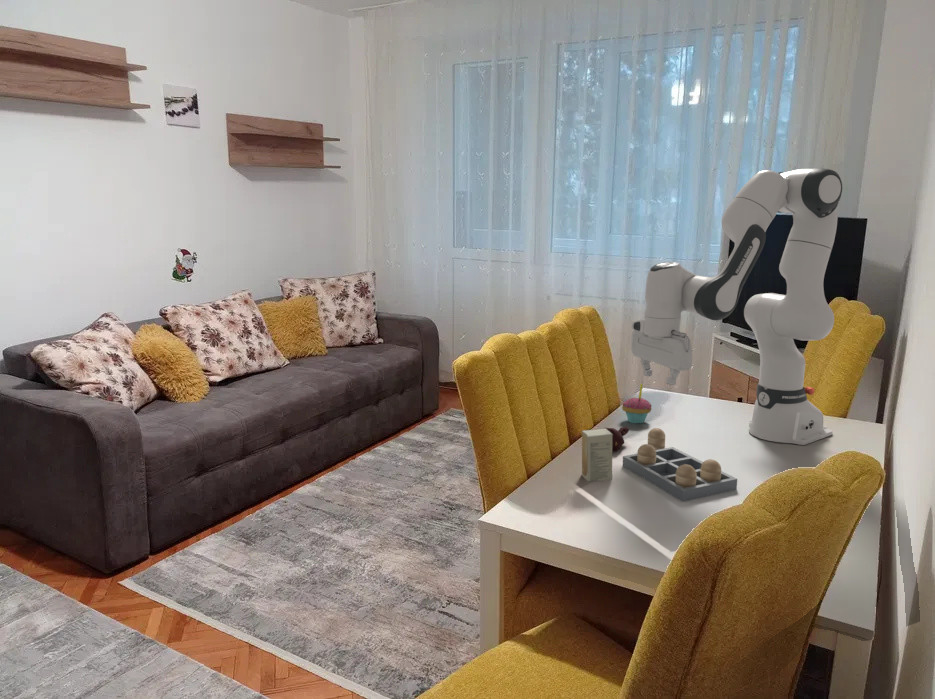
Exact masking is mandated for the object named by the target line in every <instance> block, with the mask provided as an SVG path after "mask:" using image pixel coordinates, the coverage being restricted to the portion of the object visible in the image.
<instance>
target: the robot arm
mask: <svg viewBox="0 0 935 699" xmlns="http://www.w3.org/2000/svg"><path fill="white" fill-rule="evenodd" d="M842 193H843V182H842V179H841V175H840V174H839V173H838V172H837V171H835V170H833V169H829V168H825V167H817V168H799V169H798V168H797V169H794V170H789V171H785V172H784V171H780V172H777V171H774V170H771V169H764V170H760V171H758V172H757V173H755V174H754V175H753V176H752V177H751V178H749V179H748V181H747V182H746V183H745V184H744V185H743V186H742V187H741V188H740V189H739V190H738V191H737V193H736V195H734V197H733V199H731V202H730V203H729V204H728V206H727V207H726V209H725V211H724V213H723V216H722V218H721V226H722V230H723V233H725V235H726V237H728V238H729V240H731V241H732V242H733V243H734V247H733V249H732V251H731V253H730V255H729V257H728V259H726V262H725V264H724V266H723V267H722V270H721V271H720V272H719V273H718V274H716V275H714V276H704V275H700V274H696V273H694V272H692V271H689V270H688V269H686V268H684V267H683V266H682V265H681V263H679V262H675V261H674V262H673V261H668V262H661V263H657V264H654V265H653V266H652V267H650V268H649V271H648V273H647V278H646V283H645V298H644V299H645V303H646V304H645V305H646V308H645V312H644V318H643V319H640V320H635V321H632V322H631V329H632V330H633V331H632V333H631V337H630V338H631V339H630V350H631V353H632V356H634V357H636V358H639V359H640V363H641V366H642V370H643V371H642V372H643V376H646V377H647V378H648V377H652V376H653V369H651V365H650V363H655V364H658V365H660V366H663V367H667V368H669V372H670V374H669V376H667V377H666V384H667V385H669V386H675V385H676V384H677V378H678V376H679V375H680V373H681V372H683V371H689V370H690V369H691V368H692V366H693V353H692V352H693V351H692V343H691V339H690V338H689V336H688V334H687V333H686V332H682V331H681V317H682V312H687V313H690V314H695V315H697V316H701V317H704V318H706V319H708V320H711V321H720V320H723V319H726V318H727V317H729V316H730V315H731V314H732V313H733V311H734V310H735V309H736V307H737V304H738V302H739V299H740V295H741V292H742V290H743V287H744V285H745V283H746V281H747V279H748V277H749V275H750V274H751V272H752V270H753V268H754V266H755V265H756V263H757V261H758V258H759V257H760V256H761V255H760V254H762V251H763V249H764V247H765V244H766V239H767V234H766V232H767V229H768V227H769V226H770V224H771V223H772V221H773V220H774V219H775V217H776V215H777V213H786V214H792V219H793V220H792V221H793V222H792V223H793V224H792V227H791V229H790V231H789V234H788V236H787V240H786V243H785V247H784V250H783V252H782V256H781V258H780V262H779V265H778V266H779V267H778V270H779V273H780V275H781V276H782V277H783V278H784V279H785V283H786V294H782V293H781V294H779V293H775V292H768V293H767V292H765V293H758V294H754V295H753V296H751V297H750V298H749V299H748V300H747V302H746V304H745V306H744V308H743V317H744V320H745V323H747V325H748V326H749V327H750V328H751V330H752V332H753V334H754V336H755V338H756V341H757V346H758V350H759V359H760V363H759V364H760V365H759V379H758V381H759V382H758V383H757V384H756V394H755V395H756V398H755V399H756V400H755V402H754V408H753V413H752V418H751V420H750V421H749V423H748V424H749V428H748V433H749V434H751V435H752V436H754V437H756V438H758V439H762V440H764V441H769V442H775V443H783V444H784V443H785V444H795V445H800V446H804V445H808V444H811V443H813V442H816V441H819V440H821V439H824V438H827V437H829V436H832V435H833V430H832V429H831V428H829V427H828V426H826V425H824V414H823V412H822V411H821V410H820V409H819V408H818V407H816V406H815V405H814V404H813V403H812V402H810V400H808V396H807V394H808V395H810V396H813V395H814V394H815V392H816V391H815V388H814V387H810V386H806V387H805V386H804V381H805V374H806V373H805V372H806V359H805V356H804V355H803V354H802V353H801V351H800V350H799V349H798V348H797V345H796V343H795V340H798V341H820V340H823V339H825V338H827V336H828V335H829V334H830V333H831V331H832V330H833V328H834V324H835V315H834V311H833V309H832V308H831V307H830V305H829V304H828V302H827V299H826V296H825V290H824V279H825V274H826V270H827V268H828V267H827V266H828V264H829V263H828V262H829V260H830V257H831V253H832V250H833V246H834V243H835V239H836V238H835V237H836V234H837V227H838V213H837V211H836V209H837V207H838V205H839V204H840V203H839V202H840V201H841V196H842Z"/></svg>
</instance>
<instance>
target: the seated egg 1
mask: <svg viewBox="0 0 935 699" xmlns="http://www.w3.org/2000/svg"><path fill="white" fill-rule="evenodd" d="M636 454H637V462H639V463H640V464H642V465H649V464H655V463H656V450H655V448H654V447H653V446H651V445H649V444H648V443H646V444H642V445H640V446H639V447H638V449H637V452H636Z"/></svg>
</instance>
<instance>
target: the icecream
mask: <svg viewBox="0 0 935 699" xmlns="http://www.w3.org/2000/svg"><path fill="white" fill-rule="evenodd" d="M604 428H606V429H607V430H608V431H610V432H611V433H612V453H616V452H618V451H620V450H621V448H622V447H623V445H624V444H625V439H624V436H626V435H628V433H629V432H630V431H629V430H630V429H629V427H628V426H621V427H620V428H619V430H618V429H617V428H614V427H603V428H602V429H604Z"/></svg>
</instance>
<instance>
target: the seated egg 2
mask: <svg viewBox="0 0 935 699" xmlns="http://www.w3.org/2000/svg"><path fill="white" fill-rule="evenodd" d="M696 477H697V473H696V470H695V469H694V468H693V467H692V466H691V465H688V464H684V465H681V466H679V467H678V468H677V470H676V479H675V483H676V484H678V485H679V486H681V487H683V488H687V487H691V486H696Z"/></svg>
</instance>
